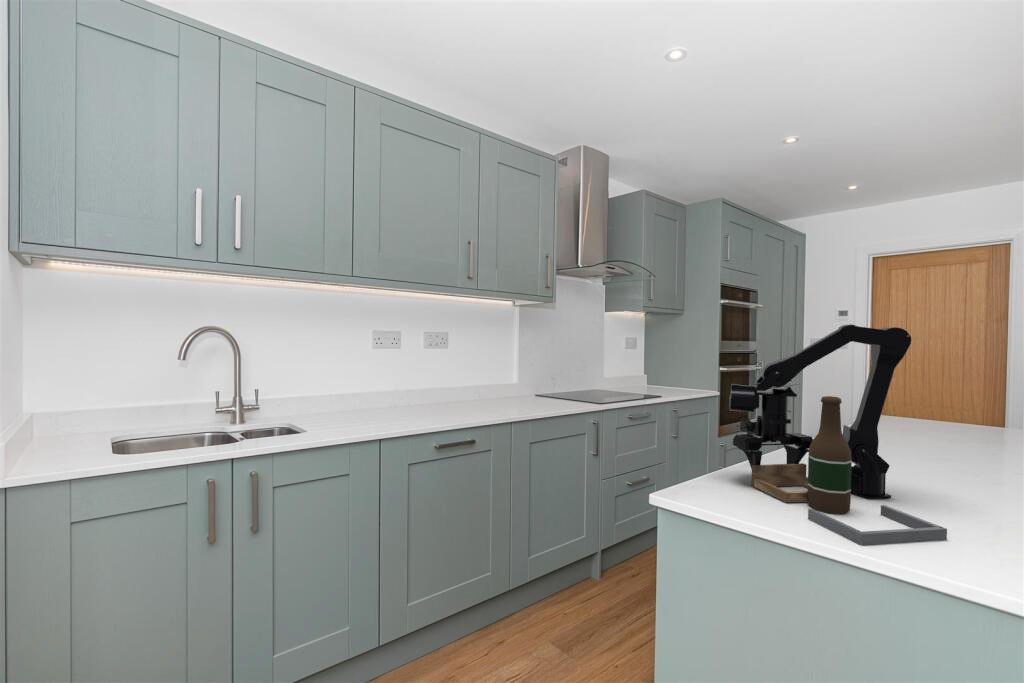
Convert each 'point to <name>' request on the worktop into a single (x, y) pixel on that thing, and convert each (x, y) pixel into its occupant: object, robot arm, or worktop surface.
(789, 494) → the brown wooden frame
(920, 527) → the tray bay
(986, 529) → the worktop surface
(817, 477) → the beer bottle
